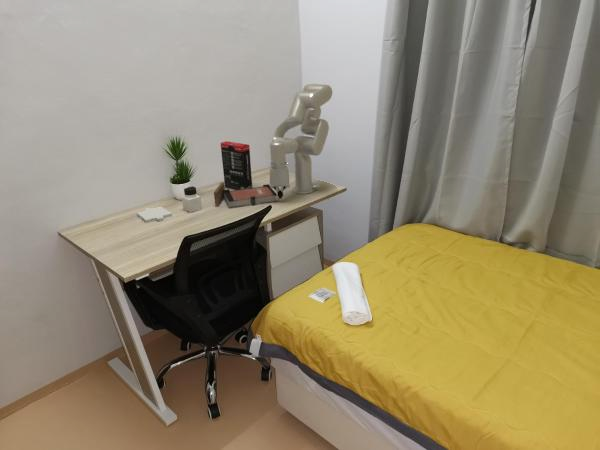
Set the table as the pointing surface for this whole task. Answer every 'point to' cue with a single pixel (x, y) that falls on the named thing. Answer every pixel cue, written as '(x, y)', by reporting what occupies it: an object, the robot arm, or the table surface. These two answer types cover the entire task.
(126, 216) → the table surface
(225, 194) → the book
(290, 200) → the table surface
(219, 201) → the walnut board
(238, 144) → the graphics card box
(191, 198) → the medicine bottle
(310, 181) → the robot arm
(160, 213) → the mounting plate
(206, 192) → the table surface
